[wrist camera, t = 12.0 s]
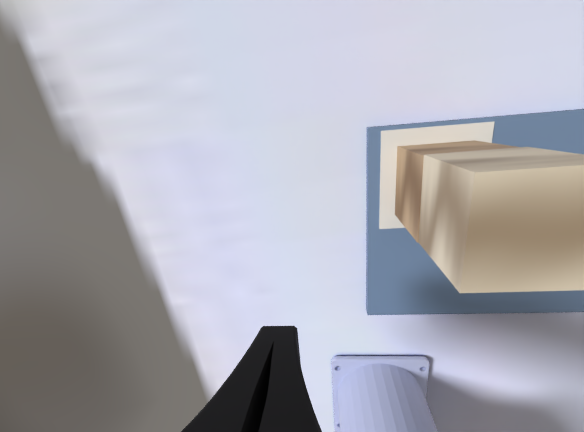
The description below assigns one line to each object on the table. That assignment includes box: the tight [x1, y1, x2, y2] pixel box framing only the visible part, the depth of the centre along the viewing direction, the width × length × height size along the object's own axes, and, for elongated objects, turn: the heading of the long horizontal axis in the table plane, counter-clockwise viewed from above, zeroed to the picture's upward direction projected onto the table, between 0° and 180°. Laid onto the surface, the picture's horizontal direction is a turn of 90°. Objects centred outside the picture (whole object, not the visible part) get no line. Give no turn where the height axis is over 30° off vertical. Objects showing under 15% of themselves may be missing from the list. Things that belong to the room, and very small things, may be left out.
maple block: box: [418, 147, 584, 293], centre depth 11 cm, size 4×4×4 cm
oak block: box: [395, 140, 518, 243], centre depth 16 cm, size 4×4×4 cm
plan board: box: [366, 109, 584, 315], centre depth 19 cm, size 14×16×1 cm
